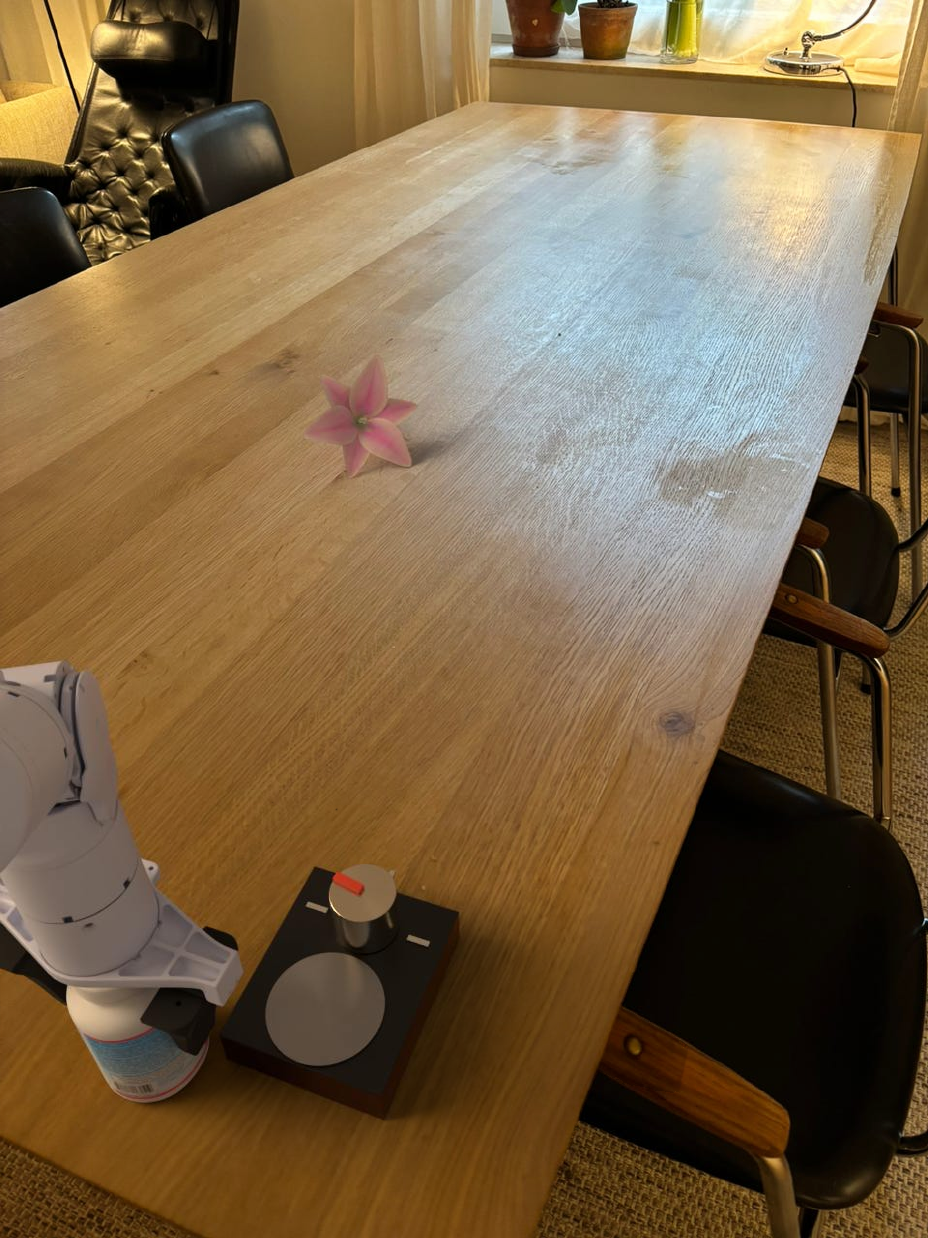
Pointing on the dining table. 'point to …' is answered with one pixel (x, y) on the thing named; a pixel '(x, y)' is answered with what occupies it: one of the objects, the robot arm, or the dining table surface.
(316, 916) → the stove
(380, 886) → the stove knob
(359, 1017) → the burner
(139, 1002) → the pill bottle
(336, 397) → the lily
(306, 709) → the dining table surface
